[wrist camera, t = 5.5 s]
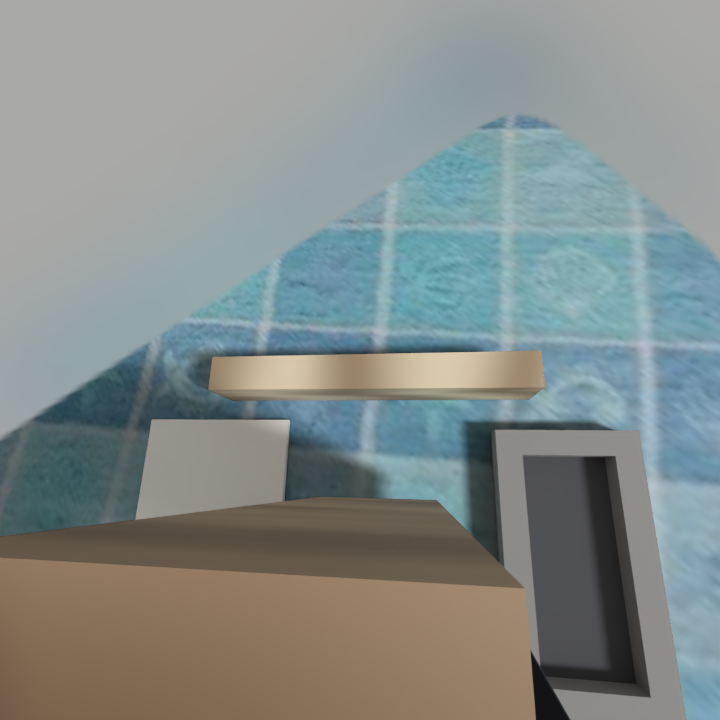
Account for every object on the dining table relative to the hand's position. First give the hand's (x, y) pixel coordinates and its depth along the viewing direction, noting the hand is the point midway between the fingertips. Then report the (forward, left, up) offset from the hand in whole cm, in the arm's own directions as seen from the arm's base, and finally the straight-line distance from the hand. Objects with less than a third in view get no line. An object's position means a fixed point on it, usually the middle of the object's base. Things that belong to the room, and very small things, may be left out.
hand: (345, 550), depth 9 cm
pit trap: (+6, -4, -9) cm, 12 cm away
